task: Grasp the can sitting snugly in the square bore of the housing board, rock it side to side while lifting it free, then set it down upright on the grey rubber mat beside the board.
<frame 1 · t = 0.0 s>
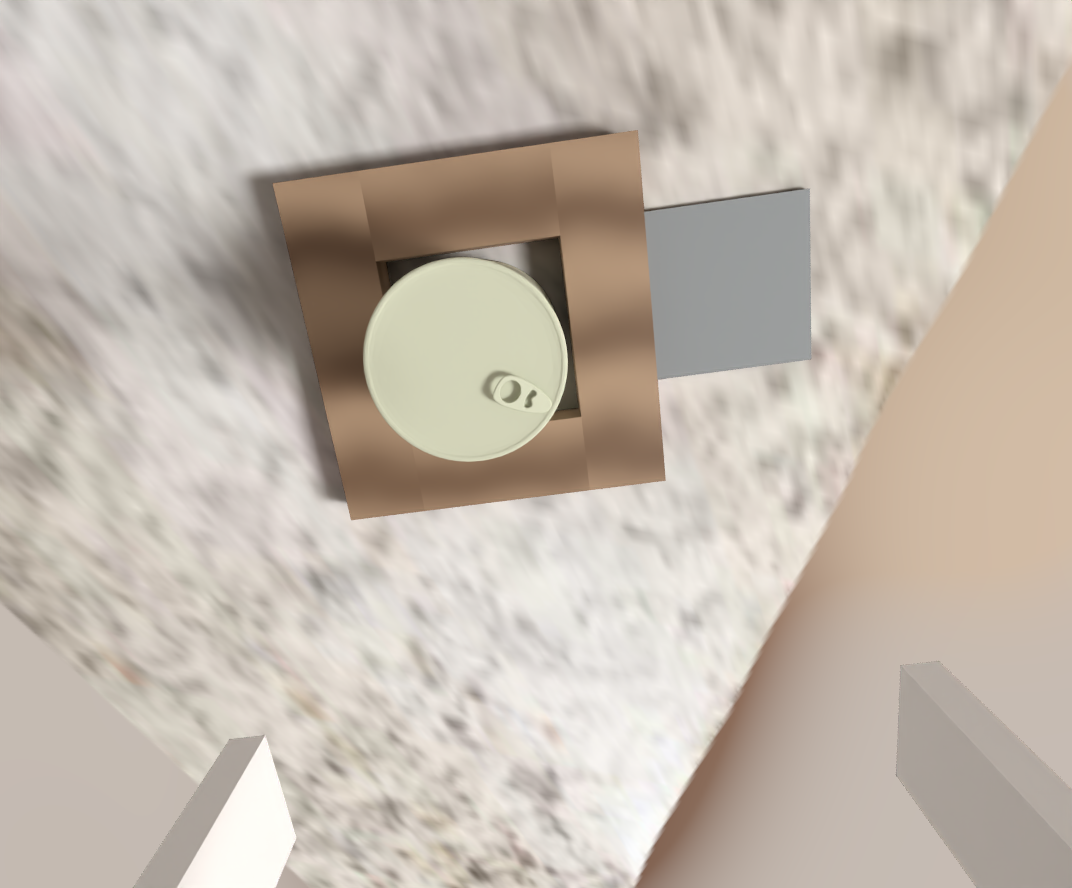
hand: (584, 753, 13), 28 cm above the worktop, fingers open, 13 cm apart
can: (485, 336, 38), resting in housing
housing: (485, 337, 38), on the worktop
mat: (725, 288, 37), on the worktop
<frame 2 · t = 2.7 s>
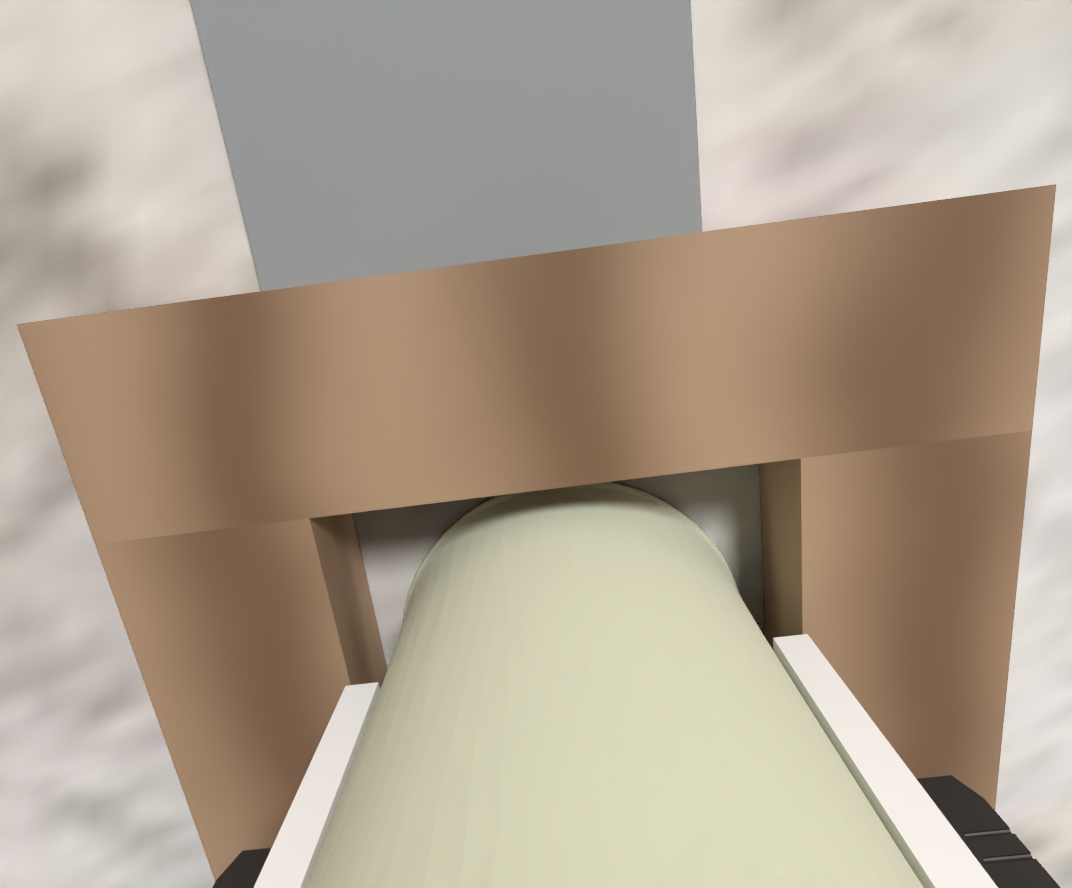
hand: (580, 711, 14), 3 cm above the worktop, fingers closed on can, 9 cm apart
can: (571, 631, 17), resting in housing, touching gripper
housing: (572, 635, 17), on the worktop
mat: (444, 16, 13), on the worktop
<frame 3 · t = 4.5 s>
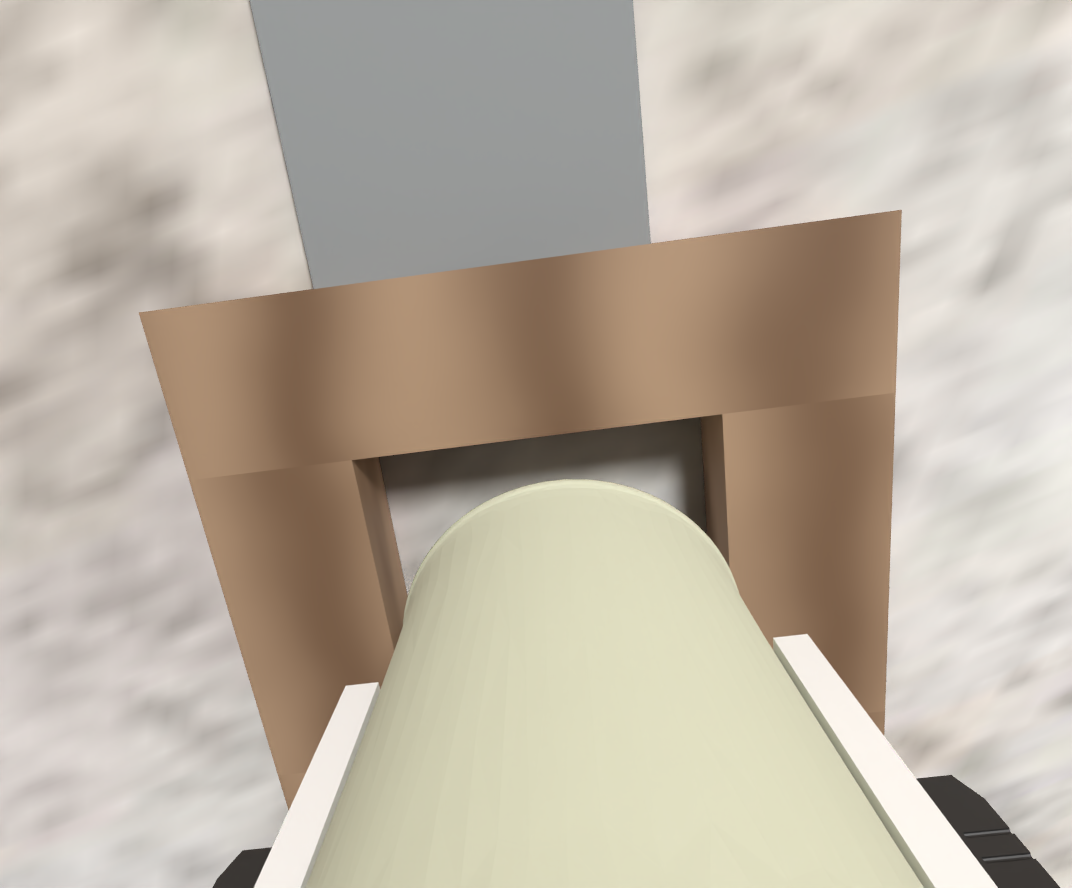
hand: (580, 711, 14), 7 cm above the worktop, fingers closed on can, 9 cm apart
can: (572, 631, 17), point 4 cm above the worktop, touching gripper
housing: (554, 564, 21), on the worktop
mat: (454, 82, 17), on the worktop
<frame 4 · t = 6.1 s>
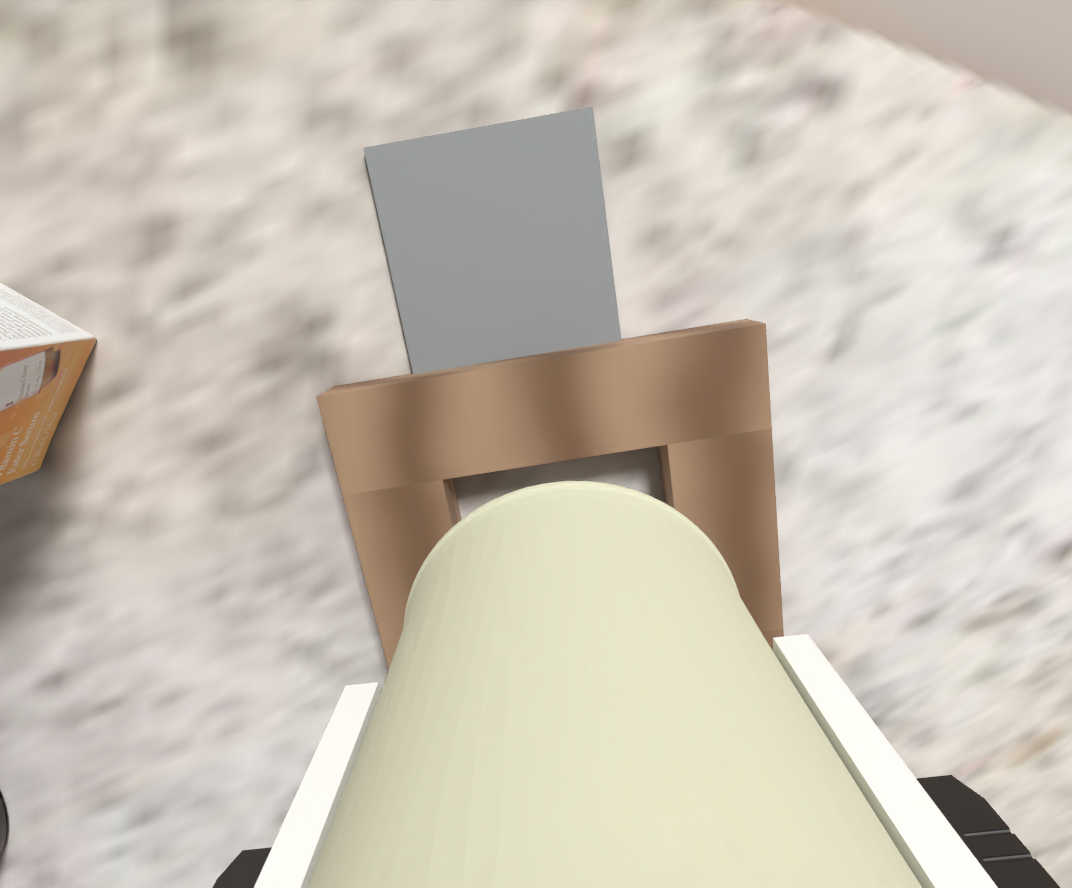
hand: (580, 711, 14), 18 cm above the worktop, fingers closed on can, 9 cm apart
small box: (19, 374, 30), on the worktop
can: (572, 632, 17), point 14 cm above the worktop, touching gripper
housing: (567, 542, 32), on the worktop
mat: (498, 248, 28), on the worktop
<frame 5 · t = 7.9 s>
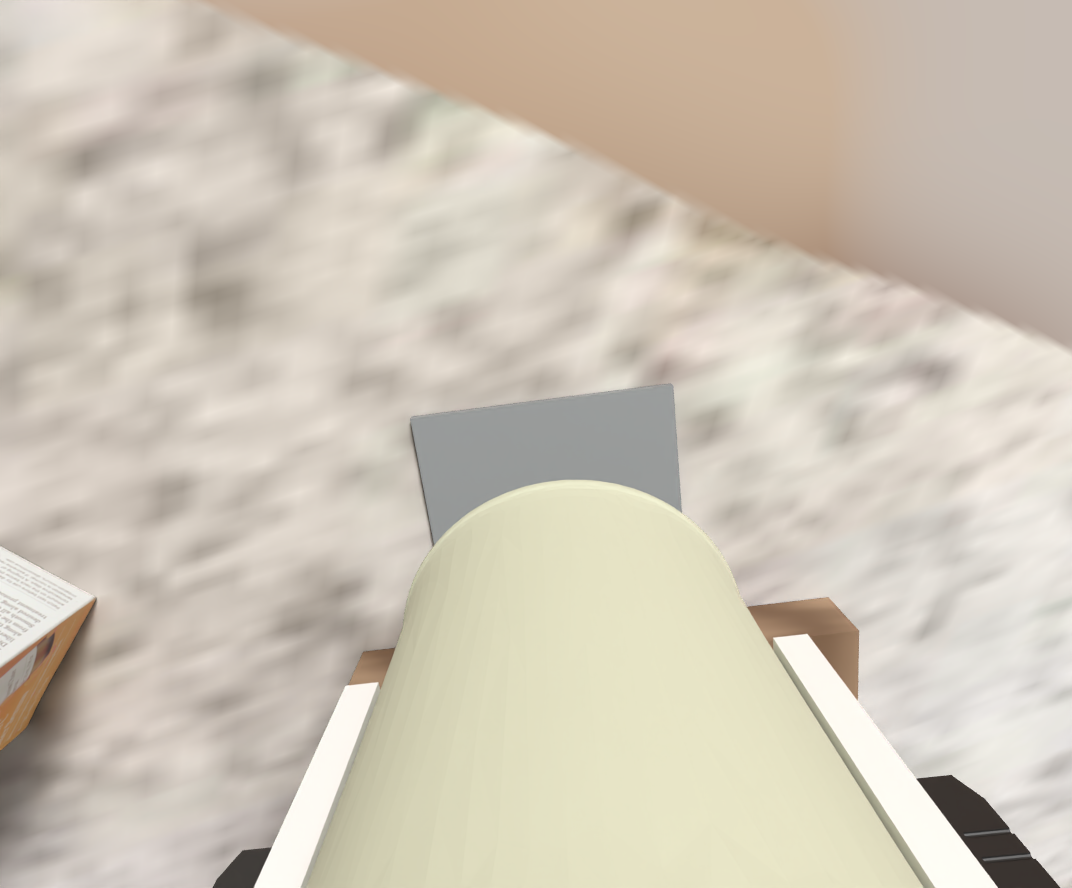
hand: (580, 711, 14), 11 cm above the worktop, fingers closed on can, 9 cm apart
small box: (7, 628, 26), on the worktop
can: (572, 631, 17), point 8 cm above the worktop, touching gripper
housing: (614, 810, 29), on the worktop
mat: (556, 520, 25), on the worktop
when the fingers open (4 cm above the worktop, at t = 9.6 s): can stays where it is, resting on mat.
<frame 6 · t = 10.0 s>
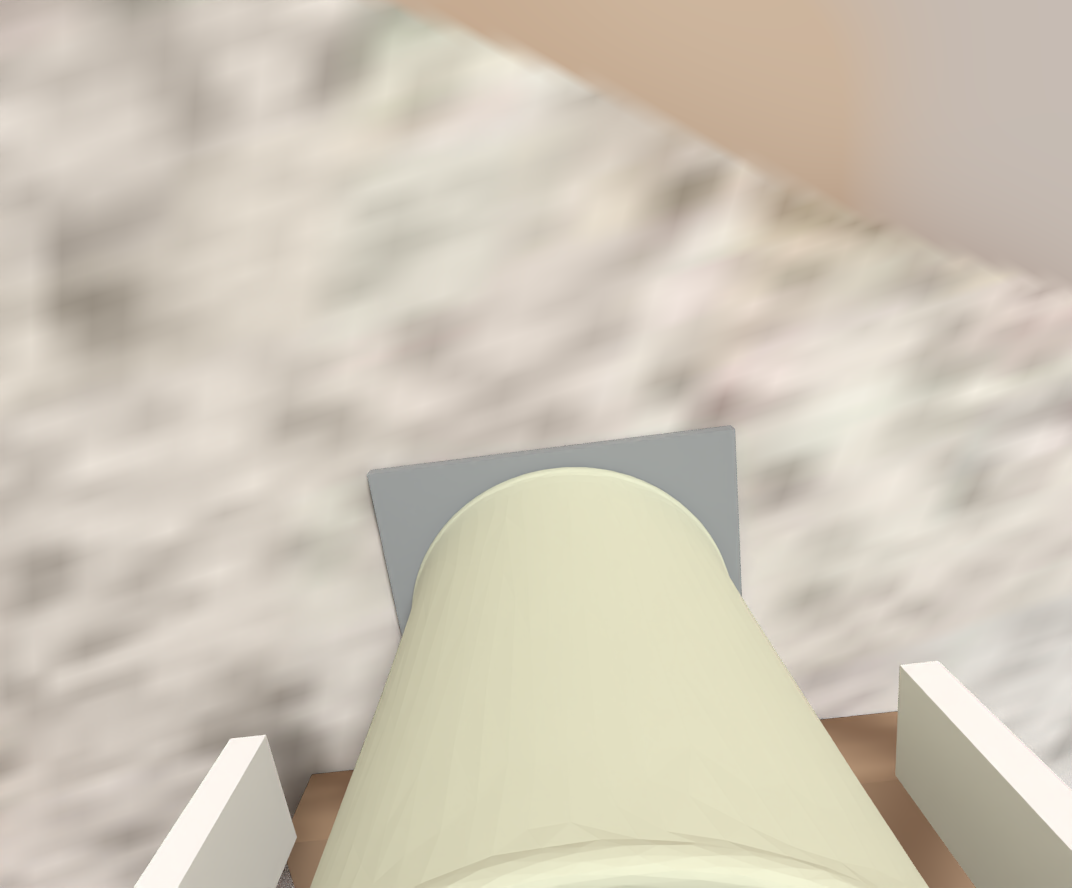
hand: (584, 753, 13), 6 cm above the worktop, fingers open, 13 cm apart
can: (571, 611, 18), resting on mat
mat: (569, 607, 18), on the worktop
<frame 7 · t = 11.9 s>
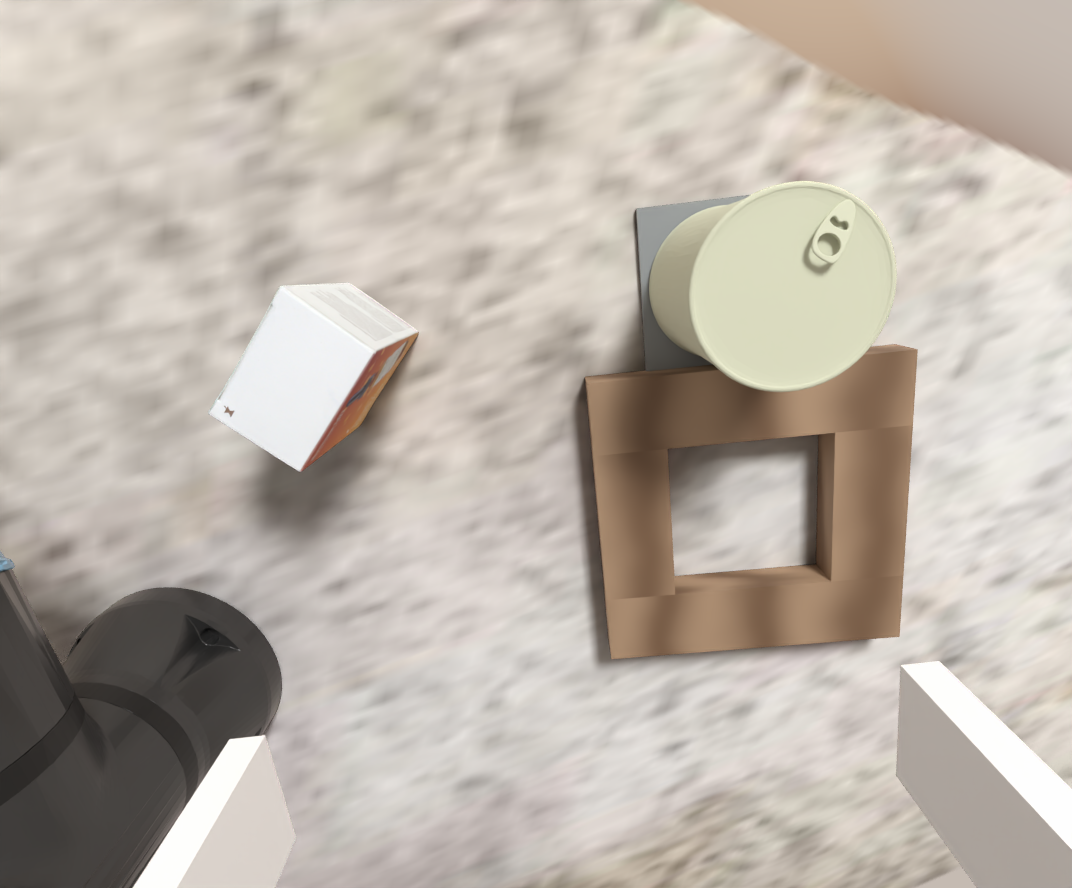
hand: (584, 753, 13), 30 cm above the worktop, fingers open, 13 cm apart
small box: (356, 355, 41), on the worktop
can: (722, 284, 38), resting on mat
housing: (740, 502, 42), on the worktop
mat: (720, 283, 38), on the worktop
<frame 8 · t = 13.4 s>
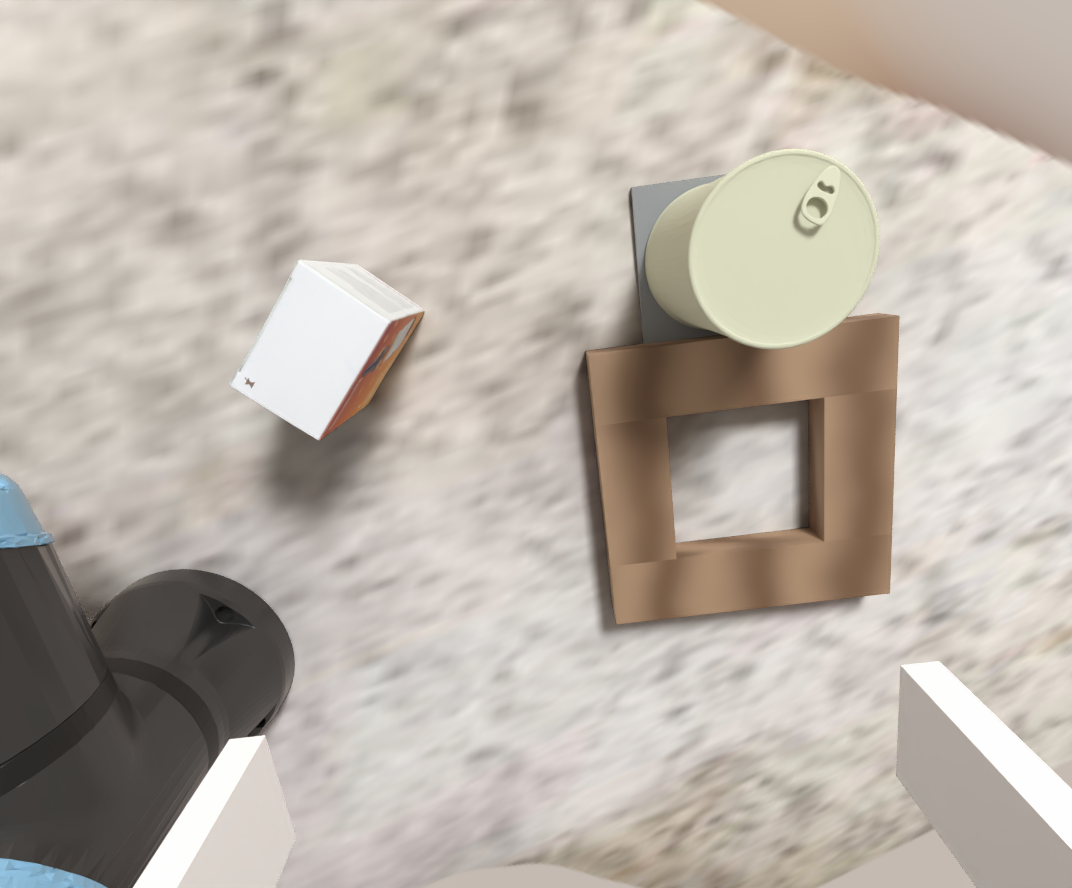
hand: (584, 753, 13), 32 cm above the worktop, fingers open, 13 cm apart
small box: (363, 335, 42), on the worktop
can: (713, 258, 40), resting on mat
housing: (736, 469, 44), on the worktop
mat: (712, 258, 40), on the worktop
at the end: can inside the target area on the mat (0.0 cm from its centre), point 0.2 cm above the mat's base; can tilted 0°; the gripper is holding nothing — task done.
